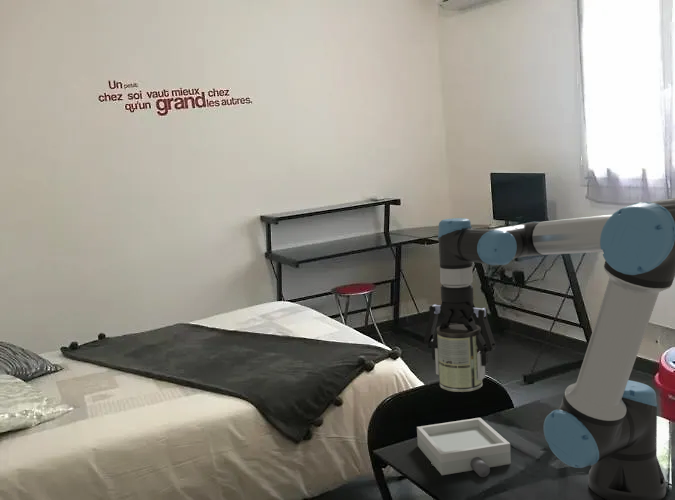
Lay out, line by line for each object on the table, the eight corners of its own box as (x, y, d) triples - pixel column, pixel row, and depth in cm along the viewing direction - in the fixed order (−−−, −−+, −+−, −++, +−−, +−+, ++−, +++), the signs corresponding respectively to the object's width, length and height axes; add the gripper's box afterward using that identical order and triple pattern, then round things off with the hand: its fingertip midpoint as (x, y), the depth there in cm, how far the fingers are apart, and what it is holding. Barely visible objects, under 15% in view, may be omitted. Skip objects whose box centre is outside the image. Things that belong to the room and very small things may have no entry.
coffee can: (438, 378, 172) (435, 323, 170) (480, 377, 171) (478, 321, 169) (439, 392, 162) (437, 334, 160) (484, 391, 161) (482, 332, 159)
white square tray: (518, 471, 158) (518, 450, 157) (448, 483, 155) (447, 461, 154) (480, 436, 178) (480, 417, 178) (417, 445, 175) (416, 426, 174)
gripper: (508, 283, 160) (511, 376, 163) (420, 279, 172) (424, 365, 175) (497, 290, 154) (500, 386, 157) (406, 284, 166) (410, 374, 169)
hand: (460, 375), depth 166 cm, fingers closed on coffee can, 10 cm apart
